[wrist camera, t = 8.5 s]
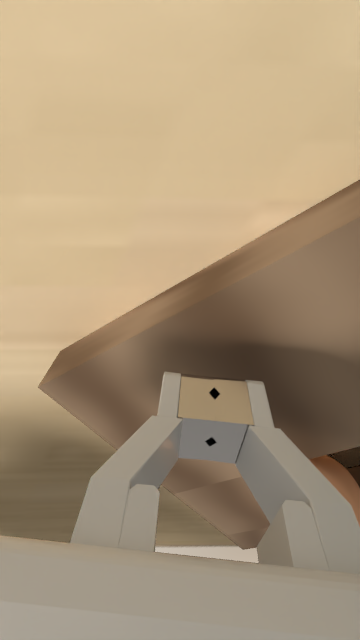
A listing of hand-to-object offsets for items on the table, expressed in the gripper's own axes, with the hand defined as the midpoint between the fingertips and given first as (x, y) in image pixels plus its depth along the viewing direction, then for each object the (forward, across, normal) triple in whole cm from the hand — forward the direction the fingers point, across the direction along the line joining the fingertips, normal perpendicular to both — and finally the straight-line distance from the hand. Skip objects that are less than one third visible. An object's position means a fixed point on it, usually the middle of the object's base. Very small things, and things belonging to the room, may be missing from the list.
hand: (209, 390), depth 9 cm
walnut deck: (+5, -5, +6) cm, 10 cm away
